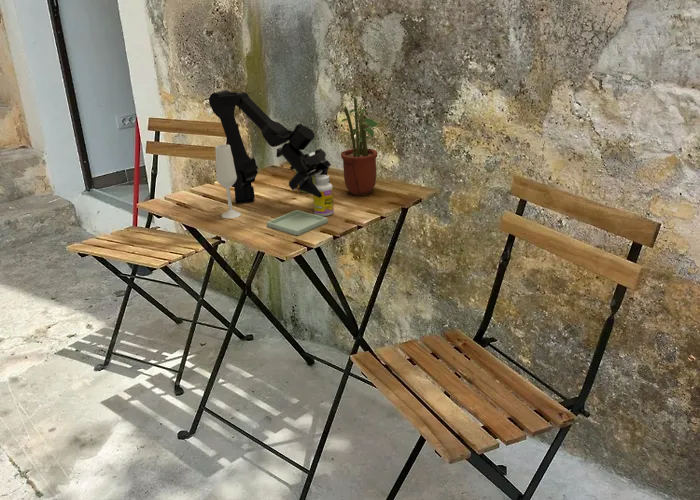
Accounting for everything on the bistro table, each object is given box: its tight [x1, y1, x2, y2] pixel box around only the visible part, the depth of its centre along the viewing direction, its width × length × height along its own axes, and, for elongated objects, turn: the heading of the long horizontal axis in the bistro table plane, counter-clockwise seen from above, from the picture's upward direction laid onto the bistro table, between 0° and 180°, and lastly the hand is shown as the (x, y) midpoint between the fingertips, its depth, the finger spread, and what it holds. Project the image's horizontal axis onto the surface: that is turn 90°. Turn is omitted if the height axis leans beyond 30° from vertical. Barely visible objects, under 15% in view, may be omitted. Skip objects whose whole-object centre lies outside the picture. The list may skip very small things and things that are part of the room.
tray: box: [266, 209, 329, 237], centre depth 212 cm, size 14×14×2 cm
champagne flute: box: [214, 144, 242, 219], centre depth 219 cm, size 7×7×24 cm
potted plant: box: [334, 96, 379, 196], centre depth 235 cm, size 17×16×35 cm
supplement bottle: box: [312, 174, 335, 217], centre depth 219 cm, size 7×7×13 cm
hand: (326, 193), depth 218 cm, fingers closed on supplement bottle, 7 cm apart
